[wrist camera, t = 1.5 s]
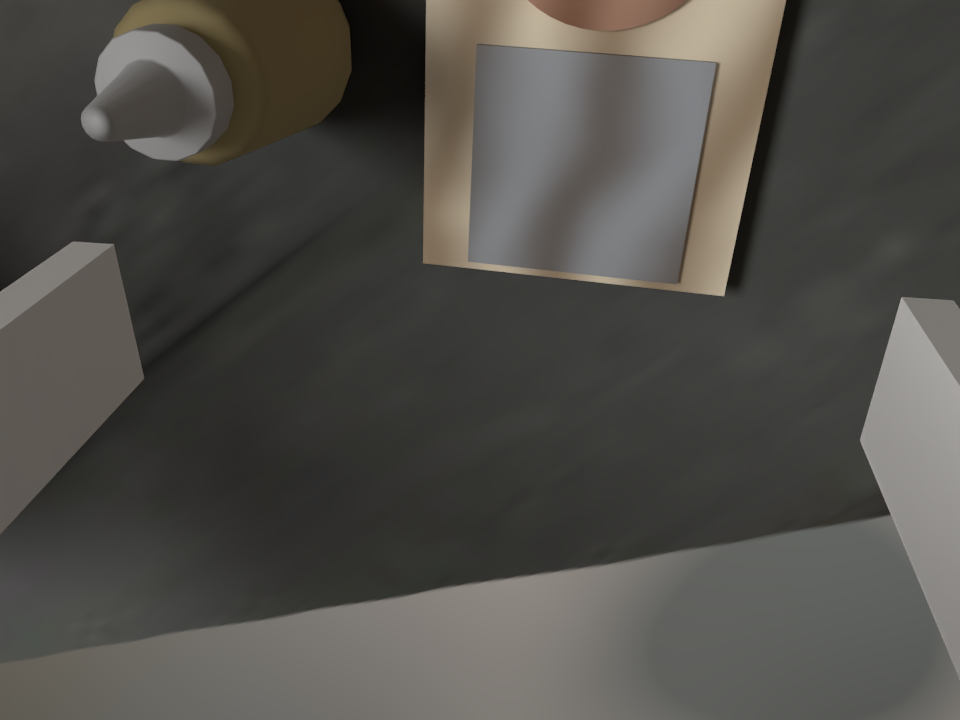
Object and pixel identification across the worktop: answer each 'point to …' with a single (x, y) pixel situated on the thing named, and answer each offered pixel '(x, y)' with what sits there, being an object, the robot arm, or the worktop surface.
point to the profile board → (593, 136)
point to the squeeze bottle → (218, 76)
